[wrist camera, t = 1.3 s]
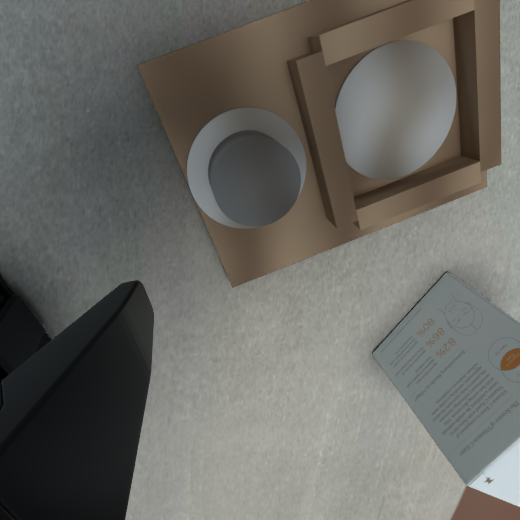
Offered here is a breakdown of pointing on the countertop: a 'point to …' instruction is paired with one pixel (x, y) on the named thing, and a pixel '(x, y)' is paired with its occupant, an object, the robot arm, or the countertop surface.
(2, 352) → the robot arm
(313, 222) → the wooden holder board
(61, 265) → the countertop surface
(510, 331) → the small box
